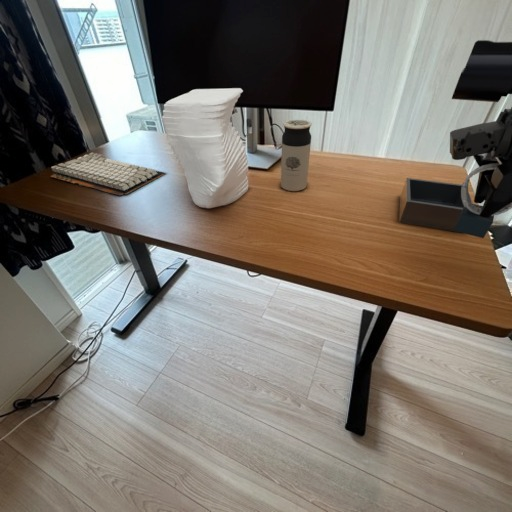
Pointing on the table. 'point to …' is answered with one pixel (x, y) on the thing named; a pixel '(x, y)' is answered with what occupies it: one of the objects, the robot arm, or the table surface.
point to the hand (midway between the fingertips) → (480, 209)
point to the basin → (431, 204)
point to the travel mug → (295, 154)
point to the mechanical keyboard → (105, 174)
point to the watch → (475, 210)
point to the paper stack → (208, 145)
